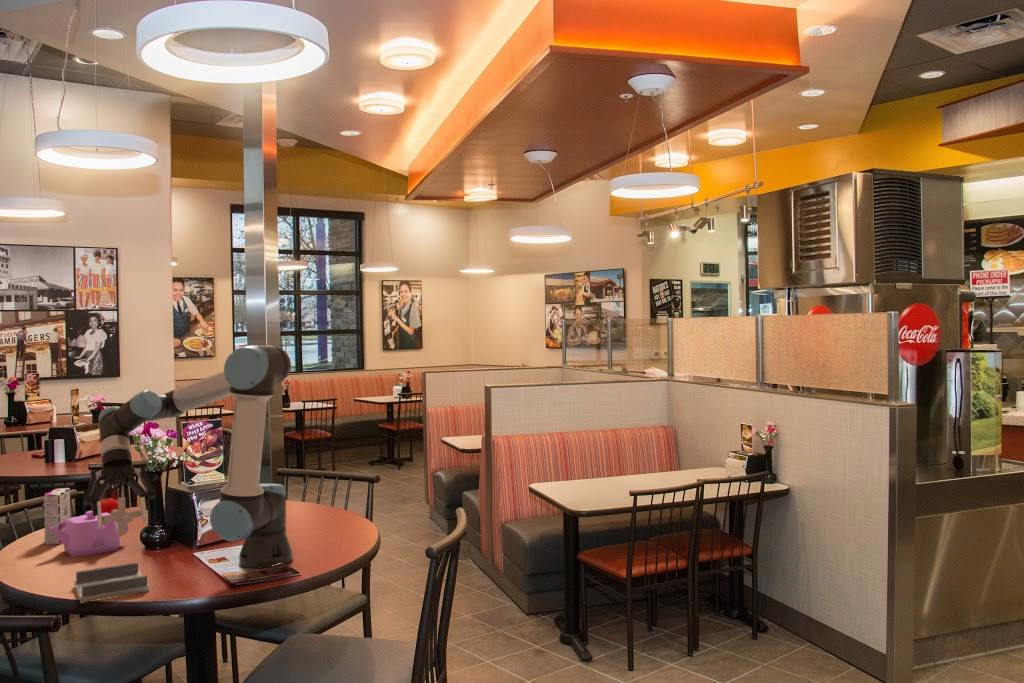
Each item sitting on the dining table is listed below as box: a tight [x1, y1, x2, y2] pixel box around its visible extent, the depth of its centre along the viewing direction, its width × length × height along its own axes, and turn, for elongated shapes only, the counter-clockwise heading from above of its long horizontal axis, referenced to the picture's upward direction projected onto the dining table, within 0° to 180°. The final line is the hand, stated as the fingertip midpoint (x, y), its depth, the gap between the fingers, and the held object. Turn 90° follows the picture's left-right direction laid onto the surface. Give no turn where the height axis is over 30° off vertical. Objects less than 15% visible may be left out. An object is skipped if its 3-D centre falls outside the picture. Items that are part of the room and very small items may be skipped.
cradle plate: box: [73, 561, 150, 604], centre depth 206 cm, size 16×16×4 cm
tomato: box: [90, 496, 118, 514], centre depth 283 cm, size 9×10×8 cm
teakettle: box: [50, 510, 129, 558], centre depth 244 cm, size 17×17×12 cm
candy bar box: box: [43, 487, 72, 546], centre depth 256 cm, size 11×5×16 cm, turn 14°
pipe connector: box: [102, 496, 142, 537], centre depth 209 cm, size 10×10×10 cm
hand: (122, 522), depth 206 cm, fingers closed on pipe connector, 10 cm apart
